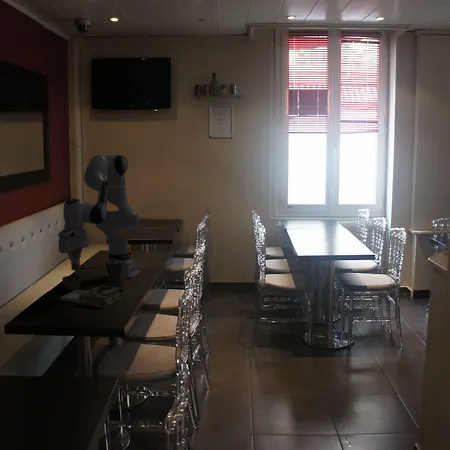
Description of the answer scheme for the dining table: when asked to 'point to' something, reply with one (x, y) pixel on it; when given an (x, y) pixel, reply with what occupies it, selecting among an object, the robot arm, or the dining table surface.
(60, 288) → the dining table surface
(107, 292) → the offcut pine
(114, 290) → the offcut oak
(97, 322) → the dining table surface
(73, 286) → the flower pot
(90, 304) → the rack
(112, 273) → the coffeepot
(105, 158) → the robot arm
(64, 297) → the tray
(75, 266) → the sprinkles bottle
